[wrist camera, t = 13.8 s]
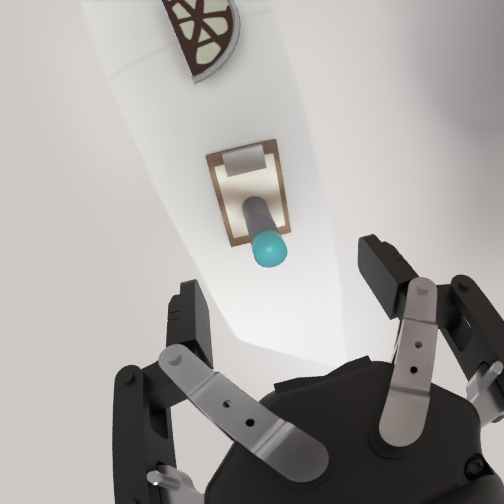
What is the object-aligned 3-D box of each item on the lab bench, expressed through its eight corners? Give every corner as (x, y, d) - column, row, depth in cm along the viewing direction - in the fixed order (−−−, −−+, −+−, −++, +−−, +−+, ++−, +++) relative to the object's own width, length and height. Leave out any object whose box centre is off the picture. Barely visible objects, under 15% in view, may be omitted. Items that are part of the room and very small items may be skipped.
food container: (246, 65, 30) (261, 62, 21) (196, 82, 30) (194, 85, 22) (213, -18, 22) (217, -47, 14) (163, -1, 23) (149, -25, 15)
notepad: (205, 155, 35) (205, 159, 34) (274, 139, 36) (278, 142, 34) (230, 244, 44) (231, 251, 42) (289, 229, 44) (292, 235, 42)
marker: (238, 199, 39) (251, 244, 30) (264, 193, 39) (285, 236, 30) (244, 221, 41) (257, 270, 32) (268, 215, 41) (289, 262, 32)
